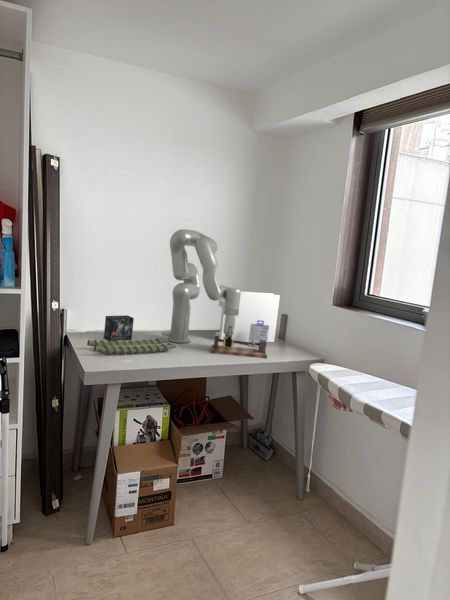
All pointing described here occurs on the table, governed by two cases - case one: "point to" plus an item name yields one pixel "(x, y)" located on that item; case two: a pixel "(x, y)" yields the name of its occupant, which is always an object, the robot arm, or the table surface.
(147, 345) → the olive green bumpy strip
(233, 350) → the cord board
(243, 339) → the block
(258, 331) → the ink cartridge box
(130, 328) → the small box
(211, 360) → the table surface
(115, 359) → the table surface
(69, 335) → the table surface
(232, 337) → the sleeve
